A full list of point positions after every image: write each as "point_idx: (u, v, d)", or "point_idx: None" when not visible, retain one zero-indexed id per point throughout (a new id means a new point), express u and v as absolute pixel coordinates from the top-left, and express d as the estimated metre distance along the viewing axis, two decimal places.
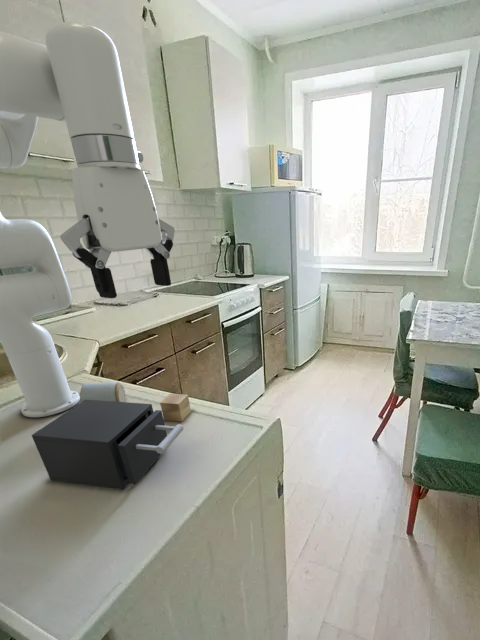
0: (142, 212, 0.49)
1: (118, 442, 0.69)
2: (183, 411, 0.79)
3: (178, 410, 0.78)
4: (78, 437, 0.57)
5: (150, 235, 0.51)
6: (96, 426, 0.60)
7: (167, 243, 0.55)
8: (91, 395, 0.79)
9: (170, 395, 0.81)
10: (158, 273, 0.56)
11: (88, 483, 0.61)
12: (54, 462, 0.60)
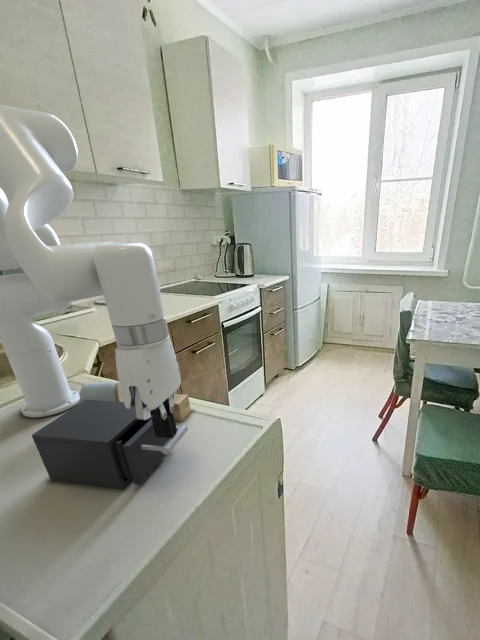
0: (171, 368, 0.57)
1: (122, 442, 0.69)
2: (183, 411, 0.79)
3: (178, 410, 0.78)
4: (78, 437, 0.57)
5: (175, 383, 0.59)
6: (96, 426, 0.60)
7: None
8: (91, 395, 0.79)
9: None
10: None
11: (88, 483, 0.61)
12: (54, 462, 0.60)
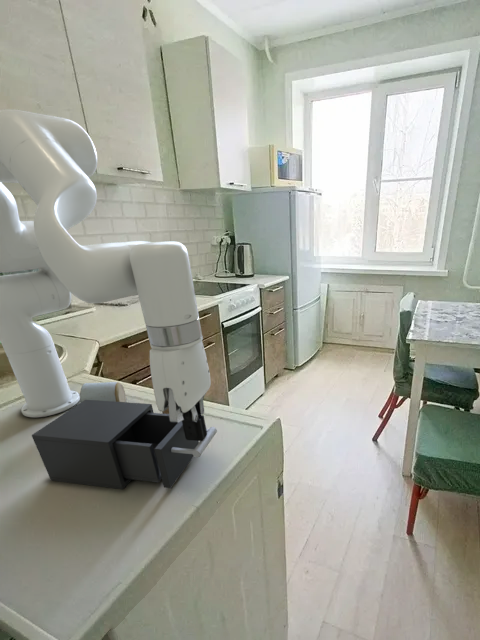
0: (202, 369, 0.55)
1: None
2: None
3: None
4: (78, 437, 0.57)
5: (206, 384, 0.57)
6: (96, 426, 0.60)
7: None
8: (91, 395, 0.79)
9: None
10: None
11: (88, 483, 0.61)
12: (54, 462, 0.60)
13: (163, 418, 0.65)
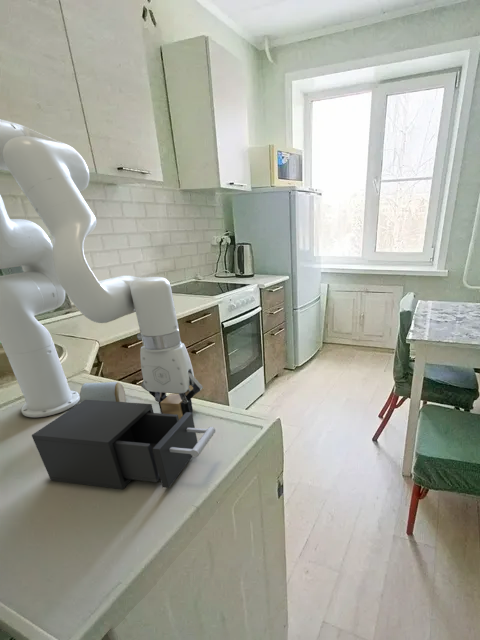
0: None
1: None
2: None
3: (178, 410, 0.78)
4: (78, 437, 0.57)
5: None
6: (96, 426, 0.60)
7: None
8: (91, 395, 0.79)
9: (170, 395, 0.81)
10: None
11: (88, 483, 0.61)
12: (54, 462, 0.60)
13: (162, 418, 0.65)
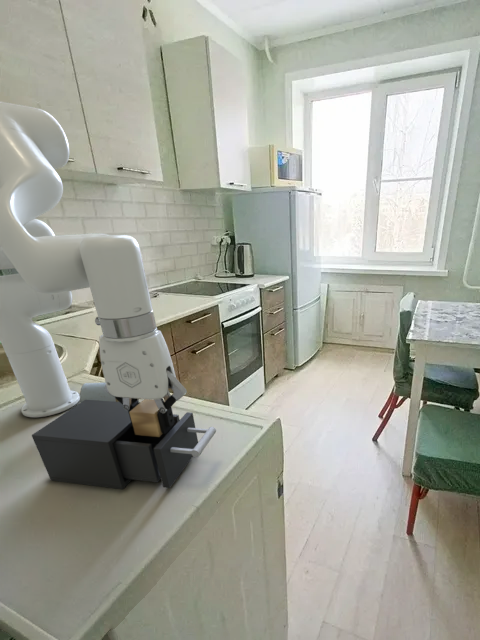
0: None
1: None
2: None
3: (153, 422, 0.57)
4: (78, 437, 0.57)
5: None
6: (96, 426, 0.60)
7: None
8: (91, 395, 0.79)
9: (144, 401, 0.60)
10: None
11: (88, 483, 0.61)
12: (54, 462, 0.60)
13: None
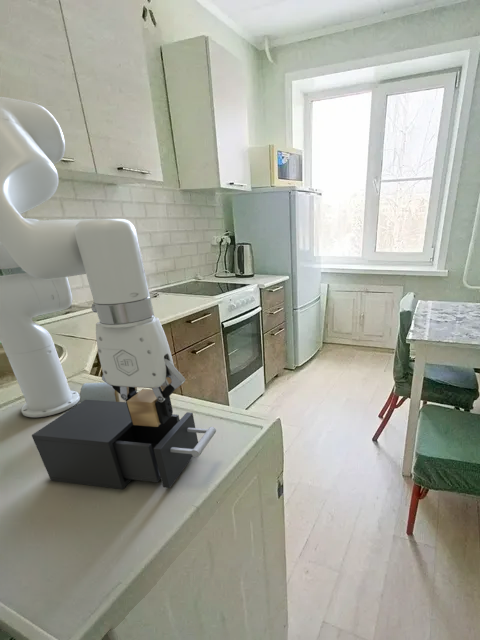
0: None
1: None
2: None
3: (151, 411, 0.56)
4: (78, 437, 0.57)
5: None
6: (96, 426, 0.60)
7: None
8: (91, 395, 0.79)
9: (142, 391, 0.59)
10: None
11: (88, 483, 0.61)
12: (54, 462, 0.60)
13: None
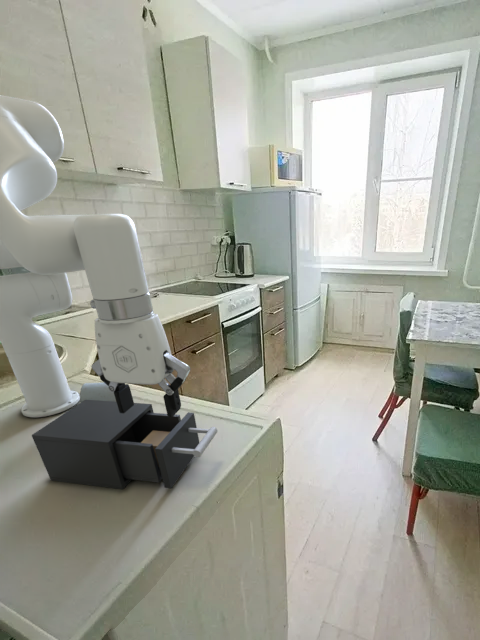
0: None
1: None
2: None
3: None
4: (78, 437, 0.57)
5: None
6: (96, 426, 0.60)
7: None
8: (91, 395, 0.79)
9: (152, 433, 0.63)
10: (126, 400, 0.59)
11: (88, 483, 0.61)
12: (54, 462, 0.60)
13: (163, 418, 0.65)
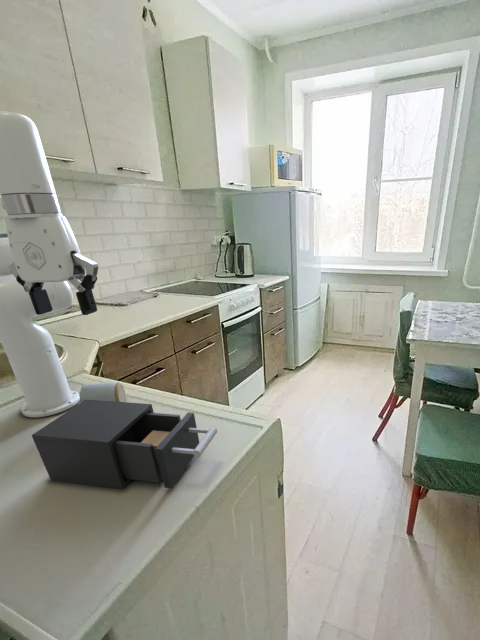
0: None
1: None
2: None
3: None
4: (78, 437, 0.57)
5: None
6: (96, 426, 0.60)
7: None
8: (91, 395, 0.79)
9: (152, 433, 0.63)
10: (42, 302, 0.64)
11: (88, 483, 0.61)
12: (54, 462, 0.60)
13: (163, 418, 0.65)
